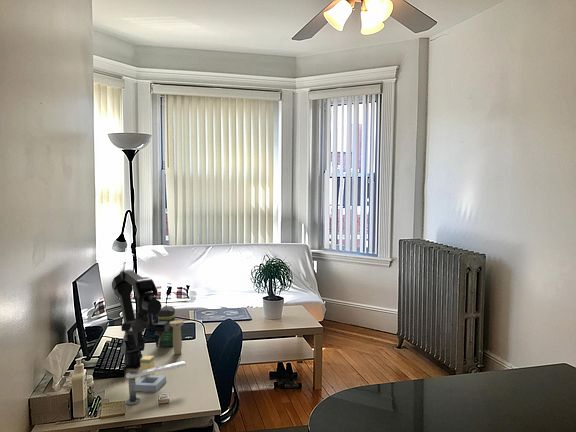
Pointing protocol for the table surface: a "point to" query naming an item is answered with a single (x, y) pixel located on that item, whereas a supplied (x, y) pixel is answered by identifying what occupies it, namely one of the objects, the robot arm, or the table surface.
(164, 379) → the socket
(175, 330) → the handle
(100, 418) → the table surface
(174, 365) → the silver metal plank
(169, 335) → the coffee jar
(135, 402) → the post
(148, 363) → the plug
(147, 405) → the table surface
